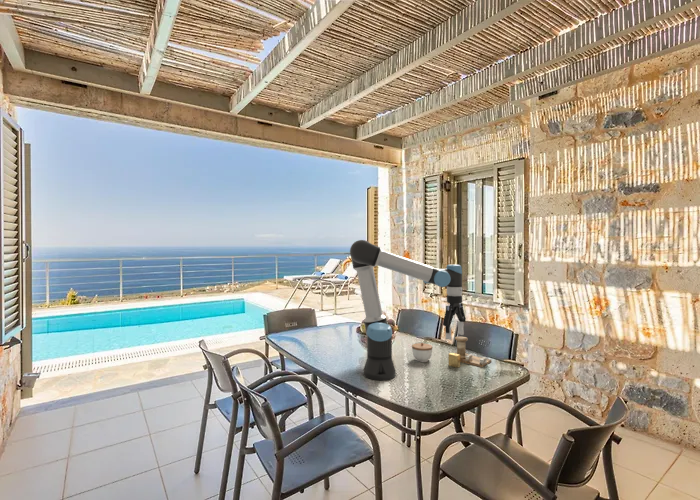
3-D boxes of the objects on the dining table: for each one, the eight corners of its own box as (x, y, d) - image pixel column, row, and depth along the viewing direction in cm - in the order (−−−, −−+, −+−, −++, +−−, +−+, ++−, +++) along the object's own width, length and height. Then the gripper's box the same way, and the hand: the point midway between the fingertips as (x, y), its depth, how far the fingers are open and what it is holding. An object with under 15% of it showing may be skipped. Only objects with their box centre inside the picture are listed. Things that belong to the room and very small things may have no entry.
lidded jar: (432, 364, 183) (432, 345, 183) (411, 362, 185) (411, 344, 185) (432, 357, 194) (432, 340, 194) (412, 356, 196) (412, 339, 196)
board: (482, 367, 178) (482, 360, 178) (449, 359, 191) (449, 353, 191) (491, 361, 187) (491, 354, 187) (459, 354, 199) (459, 348, 199)
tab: (457, 367, 177) (457, 355, 177) (448, 365, 181) (448, 353, 181) (460, 366, 179) (460, 354, 179) (451, 364, 183) (451, 352, 183)
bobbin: (464, 359, 187) (465, 340, 187) (450, 356, 192) (450, 338, 192) (471, 356, 192) (471, 337, 192) (457, 353, 198) (457, 335, 198)
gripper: (449, 298, 168) (449, 342, 168) (472, 293, 186) (472, 333, 187) (435, 296, 173) (435, 340, 173) (458, 292, 192) (459, 331, 192)
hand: (454, 336), depth 180 cm, fingers open, 13 cm apart
